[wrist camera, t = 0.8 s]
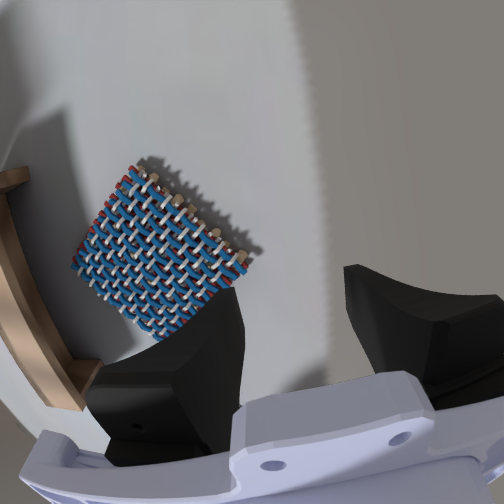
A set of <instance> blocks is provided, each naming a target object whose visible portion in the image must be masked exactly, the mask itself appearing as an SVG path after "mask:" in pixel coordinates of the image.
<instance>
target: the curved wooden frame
mask: <svg viewBox="0 0 504 504" xmlns="http://www.w3.org/2000/svg"><path fill="white" fill-rule="evenodd" d="M29 180H30V176H29V171H28V167H27V166H25V167H21V168H16V169H12V170H8V171H4V172H0V336H1V338H2V340H3V341H4V343H5V345H6V347H7V348H8V350H9V352H10V353H11V355H12V357H13V358H14V360H15V362H16V363H17V365H18V366H19V368H20V369H21V371H22V372H23V374H24V375H25V377H26V378H27V380H28V381H29V383H30V384H31V386H32V387H33V389H34V390H35V391H36V393H37V394H38V395H39V397H40V398H41V399H42V401H43V402H44V403H45V405H46V406H49V407H55V408H61V409H67V410H74V411H81V412H83V410H84V408H85V406H86V401H85V393H86V391H87V389H88V388H89V386H90V384H91V382H92V381H93V379H94V377H95V375H96V374H97V372H98V370H99V368H100V367H103V366H104V364H103V362H102V360H101V359H96V360H74V359H73V358H72V356H71V354H70V352H69V351H68V349H67V347H66V345H65V343H64V342H63V340H62V338H61V336H60V334H59V332H58V330H57V329H56V327H55V325H54V323H53V321H52V319H51V317H50V315H49V313H48V311H47V308H46V306H45V304H44V302H43V300H42V298H41V295H40V293H39V291H38V289H37V286H36V284H35V281H34V279H33V277H32V274H31V272H30V269H29V266H28V264H27V261H26V258H25V256H24V253H23V250H22V247H21V244H20V241H19V238H18V235H17V232H16V229H15V226H14V222H13V219H12V216H11V212H10V208H9V205H8V201H7V197H6V193H7V192H8V191H10V190H12V189H14V188H16V187H17V186H19V185H21V184H23V183H25V182H27V181H29Z"/></svg>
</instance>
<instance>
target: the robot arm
mask: <svg viewBox="0 0 504 504" xmlns="http://www.w3.org/2000/svg"><path fill="white" fill-rule="evenodd" d="M344 281H345V295H346V310H347V313H348V316H349V319H350V322H351V324H352V327H353V329H354V331H355V333H356V335H357V337H358V339H359V341H360V343H361V345H362V347H363V349H364V351H365V353H366V355H367V357H368V359H369V360H370V363H371V365H372V367H373V369H374V372H375V374H374V375H370V376H366V377H362V378H358V379H354V380H350V381H345V382H341V383H336V384H331V385H326V386H321V387H316V388H311V389H305V390H300V391H294V392H287V393H281V394H274V395H269V396H266V397H263V398H260V399H256V400H253V401H250V402H247V403H246V404H245V405H243V406H242V407H241V408H240V409H239V396H240V385H241V377H242V369H243V361H244V352H245V327H244V323H243V319H242V315H241V312H240V308H239V304H238V300H237V296H236V292H235V288H234V287H230V288H224V289H219V290H218V291H217V292H216V293H215V294H214V295H213V296H212V297H211V298H210V299H209V300H208V302H207V303H206V304H205V305H204V306H203V307H202V308H201V309H200V310H199V311H198V312H197V313H196V314H195V315H194V316H192V317H191V318H190V319H189V320H188V321H187V322H186V323H185V324H184V325H183V326H181V327H180V328H179V329H178V330H176V331H175V332H173V333H172V334H171V335H169V336H168V337H166V338H165V339H163V340H162V341H160V342H158V343H156V344H155V345H153V346H151V347H150V348H148V349H146V350H144V351H142V352H140V353H138V354H136V355H133V356H131V357H129V358H126V359H124V360H121V361H118V362H115V363H112V364H109V365H106V366H103V367H100V368H99V370H98V372H97V374H96V375H95V377H94V379H93V381H92V382H91V384H90V386H89V388H88V389H87V391H86V393H85V401H86V405H87V407H88V409H89V411H90V412H91V414H92V415H93V417H94V418H95V419H96V421H97V422H98V423H99V424H100V426H101V427H102V428H103V429H104V430H105V432H106V433H107V434H108V435H109V436H110V438H111V440H110V442H109V445H108V447H107V450H106V452H105V454H102V453H96V452H91V451H86V450H82V449H79V448H78V446H77V445H76V444H75V443H74V441H73V440H71V439H70V438H69V437H67V436H66V435H63V434H60V433H56V432H52V431H48V430H43V431H42V433H41V434H40V436H39V438H38V440H37V442H36V443H35V445H34V447H33V449H32V451H31V453H30V455H29V456H28V458H27V460H26V462H25V464H24V467H23V468H22V470H21V472H20V474H19V477H20V479H21V480H23V481H24V482H25V483H26V484H27V485H29V486H30V487H31V488H32V489H34V490H35V491H36V492H38V493H39V494H40V495H42V496H43V497H44V498H46V499H47V500H48V501H50V502H51V503H52V504H495V501H494V499H493V497H492V494H491V492H490V490H489V487H488V485H487V484H489V483H490V482H492V481H493V480H495V479H496V478H497V477H499V476H500V475H502V474H503V473H504V301H503V300H502V299H501V298H500V297H499V296H497V295H475V296H474V295H455V294H446V293H439V292H433V291H429V290H424V289H421V288H417V287H413V286H410V285H407V284H404V283H401V282H399V281H396V280H394V279H391V278H389V277H386V276H384V275H382V274H379V273H377V272H375V271H373V270H371V269H369V268H367V267H364V266H362V265H359V264H355V265H350V266H345V267H344Z"/></svg>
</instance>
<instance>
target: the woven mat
mask: <svg viewBox="0 0 504 504" xmlns="http://www.w3.org/2000/svg"><path fill="white" fill-rule="evenodd" d="M128 170H129V171H130V172H129V175H130V176H131V177H130V178H129V177H128V176H127V175H124V176H123V178H122V180H123V182H122V184H121V183H119V182H118V183H117V184H116V186H115V188H117V190H116V192H115V193H116V195H117V196H116V195H115V194H114V193H112V194H111V195H110V196H109V198H110V200H109V203H108V202H107V201H105V203H104V205H105V206H106V207H105V208H104V211H103V210H101V211H100V212H99V214H98V215H99V217H98V218H97V219H95V220H94V221H93V223H94V226H91V227H90V228H89V230H88V231H89V233H87V234H86V238H87V240H85V241H84V242H81V244H80V245H79V246H80V247H81V249H80V248H78V249H77V253H78V255H76V257H75V256H74V257H73V258H72V261H73V262H74V263H72V265H71V268H72V269H74V270H75V271H76V272H78V274H77V276H78V278H79V277H80V274H81V278H82V279H83V280H84V281H87V282H90V284H89V287H92V285H93V286H94V288H95V290H96V291H97V292H98V293H97V295H98V296H100V295H101V294H102V295H104V296H105V297H104V300H107V299H108V302H109V303H110V304H111V305H114V306H116V307H117V308H120V310H119V312H120V313H121V312H123V313H124V315H125V316H126V317H127V318H130V319H134V320H133V323H134V324H135V323H136V322H137V324H138V325H139V326H140V328H141V329H142V330H144V331H148V332H150V333H149V335H150V336H151V335H152V336H153V338H154V339H155V340H157V341H159V342H160V341H162V340H163V339H165V338H166V337H168V336H169V335H171V333H173V332H175V331H176V330H178V329H179V328H180V327H181V326H183V325H184V324H185V323H186V322H187V321H188V320H189V319H190V318H191V317H192V316H194V315H195V314H196V313H197V310H198V311H199V310H200V309H201V308H202V307H203V306H204V305H205V304H206V303H207V302H208V300H209V299H210V298H211V297H212V296H213V295H214V294H215V293H216V292H217V291H218V290H219V289H224V288H230V285H231V284H232V282H231V281H230V280H229V279H228V278H227V277H226V276H228V277H230V278H232V279H233V280H234V281H235V280H236V279H237V278H238V277H239V276H240V274H239V273H238V272H237V271H235V270H234V269H237V270H238V271H239V272H240V273H241V274H242V275H243V276H244V275H245V274H246V273H247V270H246V269H247V268H248V267H249V266H248V265H247V264H246V262H245V261H244V260H245V259H246V257H247V256H248V254H247V253H246V252H245V251H243V250H239V252H238V253H237V252H236V253H235V252H233V251H232V249H230V248H229V246H230V245H231V244H230V243H229V242H228V241H226V240H224V241H222V242H219V241H220V240H221V238H220V237H219V236H220V233H221V230H220V229H218V228H215V229H213V230H211V231H210V232H207V231H206V230H205V229H204V228H205V226H206V223H205V222H204V221H203V220H202V219H201V220H198V218H196V217H195V218H194V219H193V218H192V217H193V216H194V213H195V212H196V211H197V210H198V209H197V208H195V207H194V206H193V205H192V204H190V205H189V206H188V207H187V209H186V208H182V207H181V204H182V203H183V202H184V199H183V197H182V195H179V194H176V195H175V196H174V198H172V196H171V195H169V192H170V191H169V190H168V189H167V188H165V187H163V189H162V190H160V187H159V186H158V187H157V186H155V184H156V183H157V181H158V178H159V176H158V175H157V174H156V173H153V174H150V175H149V177H148V179H147V178H146V176H147V173H145V171H146V169H144V168H143V167H142V166H141V165H140V166H139V167H138V168H137V169H136V168H135V167H134V166H130V167H129V169H128ZM140 185H141V186H143V187H142V189H141V188H140V187H139V186H140ZM148 194H150V195H151V196H149V195H148ZM141 203H144V204H143V205H142V204H141ZM161 203H162V204H161ZM126 204H127V205H126ZM160 204H161V206H160ZM128 205H129V206H128ZM164 207H166V208H165V209H163V208H164ZM172 215H175V216H176V218H174V217H173V216H172ZM157 217H158V218H157ZM197 220H198V221H197ZM130 221H131V222H130ZM165 223H166V225H167V226H168V227H167V226H166V225H165ZM160 234H161V235H160ZM178 234H179V236H177V235H178ZM198 235H199V236H198ZM134 238H135V239H136V240H135V239H134ZM200 238H201V239H200ZM94 245H95V246H94ZM190 246H191V247H194V248H195V249H192V248H191V247H190ZM213 248H215V250H214V251H212V249H213ZM228 248H229V249H228ZM182 253H184V255H185V256H184V255H183V254H182ZM161 255H162V256H161ZM223 259H224V260H226V261H228V262H227V263H226V262H225V261H224V260H223ZM137 260H138V261H137ZM84 261H85V262H84ZM194 263H195V264H194ZM179 264H180V265H179ZM198 265H199V266H198ZM197 266H198V267H197ZM110 272H111V274H110ZM210 277H211V278H210ZM180 284H181V285H180ZM219 284H220V285H219ZM154 286H155V287H156V288H154ZM213 292H214V293H213ZM127 297H129V298H128V299H127ZM196 309H197V310H196ZM128 310H129V311H128ZM132 312H133V313H136V314H133V313H132ZM172 312H173V314H171V313H172ZM145 323H147V324H146V325H145Z"/></svg>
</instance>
